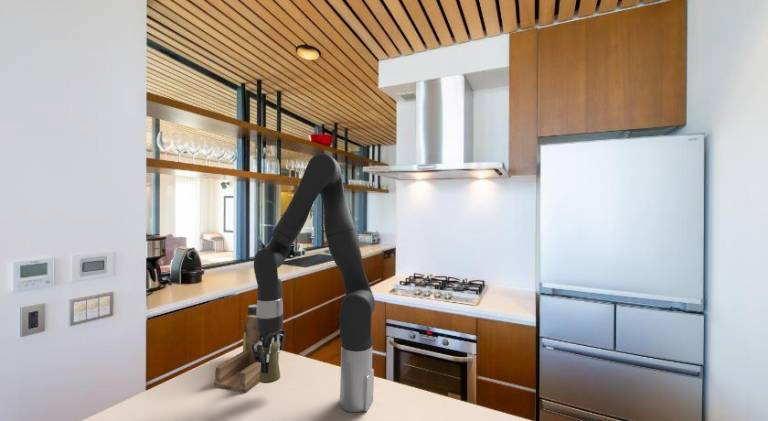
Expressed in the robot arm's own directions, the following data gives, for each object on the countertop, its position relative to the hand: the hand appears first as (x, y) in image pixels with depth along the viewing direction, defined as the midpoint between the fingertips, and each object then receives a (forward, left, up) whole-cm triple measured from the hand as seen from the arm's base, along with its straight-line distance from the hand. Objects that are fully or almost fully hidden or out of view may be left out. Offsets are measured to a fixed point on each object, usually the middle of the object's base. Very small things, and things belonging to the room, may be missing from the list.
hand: (270, 370), depth 96 cm
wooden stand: (+15, -8, -8) cm, 19 cm away
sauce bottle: (+23, -20, -9) cm, 31 cm away
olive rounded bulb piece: (0, 0, -3) cm, 3 cm away
